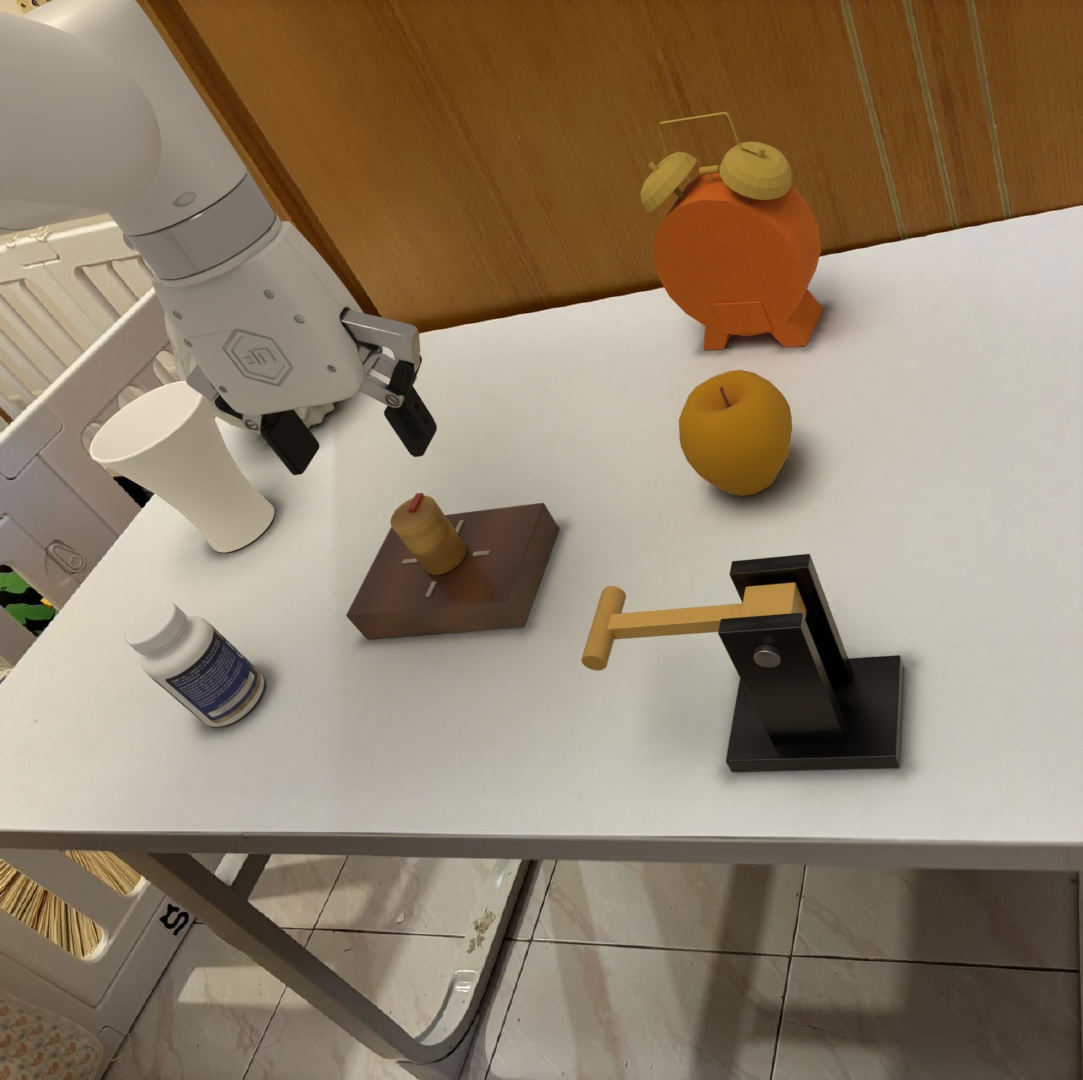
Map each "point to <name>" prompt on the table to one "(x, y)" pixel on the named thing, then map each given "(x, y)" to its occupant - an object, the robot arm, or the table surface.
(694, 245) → the alarm clock
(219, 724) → the pill bottle
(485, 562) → the brown dial base
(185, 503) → the cup
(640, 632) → the door handle
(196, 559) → the table surface
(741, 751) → the handle bracket
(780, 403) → the apple
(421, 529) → the dial knob
